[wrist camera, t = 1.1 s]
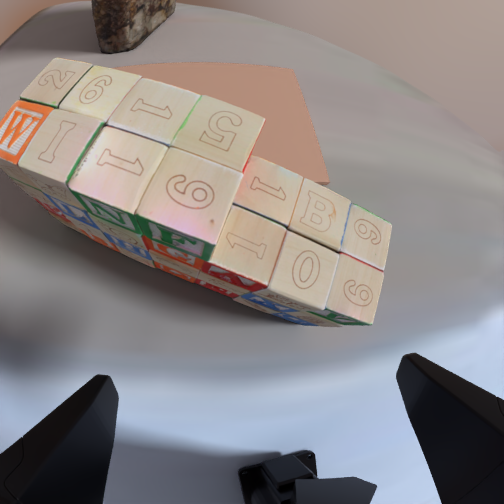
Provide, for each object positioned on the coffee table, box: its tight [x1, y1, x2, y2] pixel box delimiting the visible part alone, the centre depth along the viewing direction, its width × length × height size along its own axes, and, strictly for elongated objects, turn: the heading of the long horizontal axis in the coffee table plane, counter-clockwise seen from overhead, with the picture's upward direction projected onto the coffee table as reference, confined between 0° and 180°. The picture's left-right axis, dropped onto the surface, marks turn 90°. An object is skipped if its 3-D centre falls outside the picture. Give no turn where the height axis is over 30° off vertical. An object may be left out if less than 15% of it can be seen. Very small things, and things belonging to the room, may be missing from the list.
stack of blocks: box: [0, 58, 392, 327], centre depth 16 cm, size 21×6×12 cm, turn 71°
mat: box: [111, 62, 330, 185], centre depth 25 cm, size 16×26×1 cm, turn 99°
